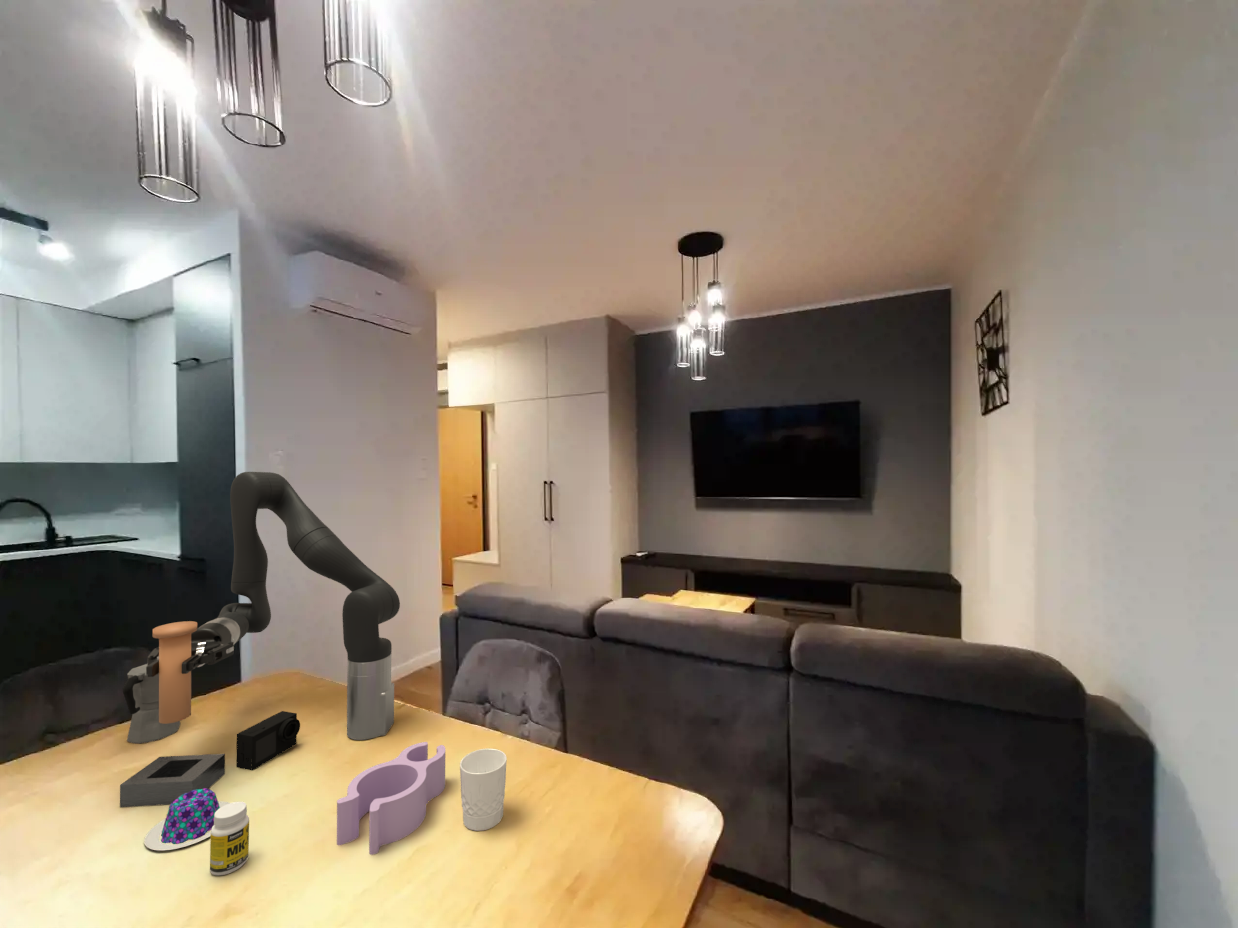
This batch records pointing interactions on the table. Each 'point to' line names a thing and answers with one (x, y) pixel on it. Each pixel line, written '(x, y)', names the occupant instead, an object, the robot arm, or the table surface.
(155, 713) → the coffeepot
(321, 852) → the table surface
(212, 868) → the supplement bottle
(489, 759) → the white cup
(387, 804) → the clip
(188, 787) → the frame
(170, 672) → the orange capped cylinder
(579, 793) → the table surface
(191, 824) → the pudding
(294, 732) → the digital camera
